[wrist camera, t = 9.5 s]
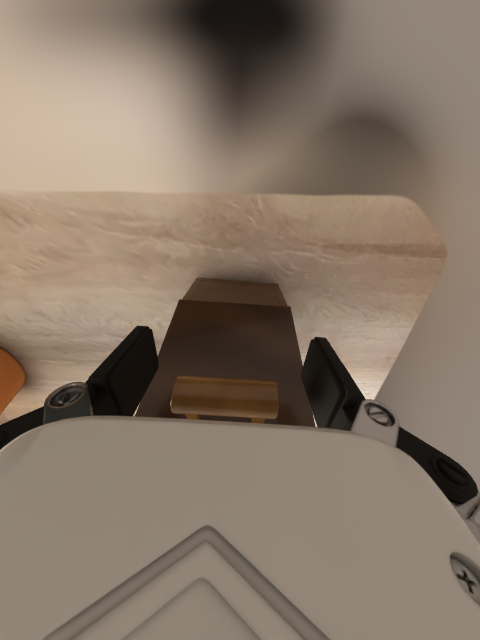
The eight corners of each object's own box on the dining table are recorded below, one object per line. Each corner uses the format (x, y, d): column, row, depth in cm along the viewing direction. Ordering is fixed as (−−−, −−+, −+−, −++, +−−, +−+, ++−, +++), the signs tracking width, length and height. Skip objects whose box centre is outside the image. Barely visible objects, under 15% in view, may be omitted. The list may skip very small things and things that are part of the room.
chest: (266, 352, 34) (271, 387, 27) (200, 348, 34) (189, 382, 27) (277, 283, 28) (288, 307, 21) (196, 278, 28) (181, 300, 21)
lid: (319, 467, 12) (369, 451, 8) (125, 457, 12) (69, 435, 7) (288, 311, 21) (303, 266, 17) (180, 304, 21) (169, 257, 17)
